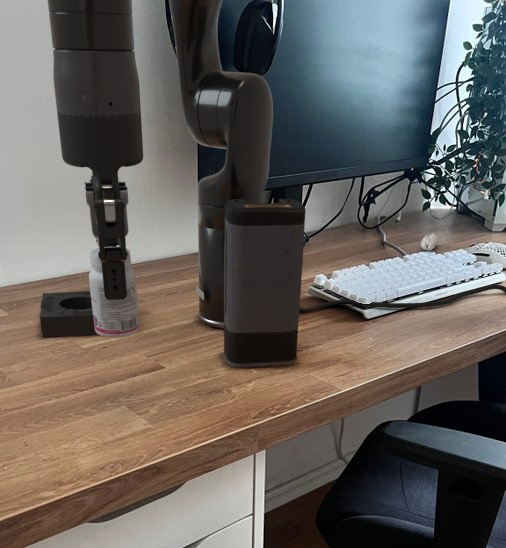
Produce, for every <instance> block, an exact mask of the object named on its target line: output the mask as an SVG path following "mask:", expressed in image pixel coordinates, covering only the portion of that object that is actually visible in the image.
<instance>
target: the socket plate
mask: <svg viewBox="0 0 506 548" xmlns="http://www.w3.org/2000/svg"><path fill="white" fill-rule="evenodd" d="M41 296H42V297H41V302H40V313H39V321H40V329H41V337H42V338H55V337H56V338H57V337H81V336H92V335H98V334H97V333H96V331H95V327H94V319H93V310H92V302H91V293H90V290H87V291H86V290H85V291H84V290H83V291H68V292H67V291H65V292H64V291H63V292H62V291H61V292H44V293H43V292H42V295H41Z"/></svg>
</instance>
